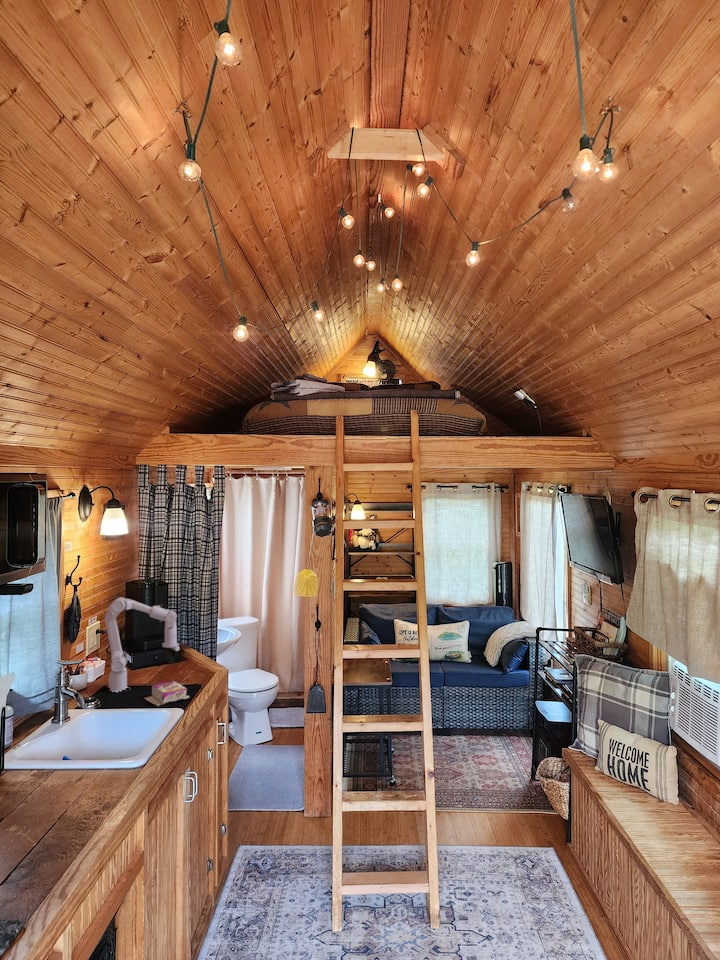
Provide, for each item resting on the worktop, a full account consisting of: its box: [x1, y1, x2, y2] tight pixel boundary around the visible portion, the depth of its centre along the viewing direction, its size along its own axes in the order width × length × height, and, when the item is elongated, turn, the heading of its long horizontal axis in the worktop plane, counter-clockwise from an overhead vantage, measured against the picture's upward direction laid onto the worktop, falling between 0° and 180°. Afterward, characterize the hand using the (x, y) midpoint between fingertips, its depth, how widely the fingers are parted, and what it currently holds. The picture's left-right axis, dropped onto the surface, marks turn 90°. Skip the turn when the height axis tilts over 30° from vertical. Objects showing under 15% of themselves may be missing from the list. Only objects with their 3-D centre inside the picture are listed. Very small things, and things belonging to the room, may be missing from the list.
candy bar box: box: [151, 680, 188, 704], centre depth 262 cm, size 11×5×16 cm
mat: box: [143, 695, 190, 707], centre depth 262 cm, size 14×15×1 cm
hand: (171, 663), depth 285 cm, fingers closed
